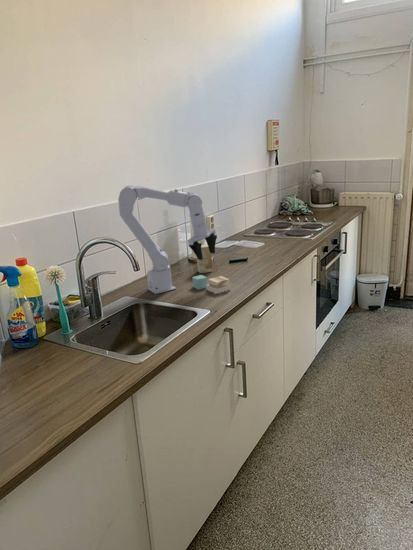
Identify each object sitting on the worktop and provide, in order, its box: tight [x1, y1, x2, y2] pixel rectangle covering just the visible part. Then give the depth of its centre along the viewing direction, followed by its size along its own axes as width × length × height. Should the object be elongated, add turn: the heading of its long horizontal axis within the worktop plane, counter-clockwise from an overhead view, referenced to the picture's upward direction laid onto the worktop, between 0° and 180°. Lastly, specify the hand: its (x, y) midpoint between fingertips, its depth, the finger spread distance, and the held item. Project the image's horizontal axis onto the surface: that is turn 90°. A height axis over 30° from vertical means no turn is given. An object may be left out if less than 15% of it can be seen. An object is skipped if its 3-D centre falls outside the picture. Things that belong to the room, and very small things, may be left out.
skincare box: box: [196, 244, 213, 274], centre depth 191 cm, size 6×4×12 cm
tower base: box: [205, 283, 231, 295], centre depth 167 cm, size 7×7×2 cm
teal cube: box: [191, 274, 208, 290], centre depth 171 cm, size 4×4×4 cm
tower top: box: [208, 275, 231, 288], centre depth 166 cm, size 6×6×2 cm
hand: (206, 256), depth 170 cm, fingers open, 7 cm apart
